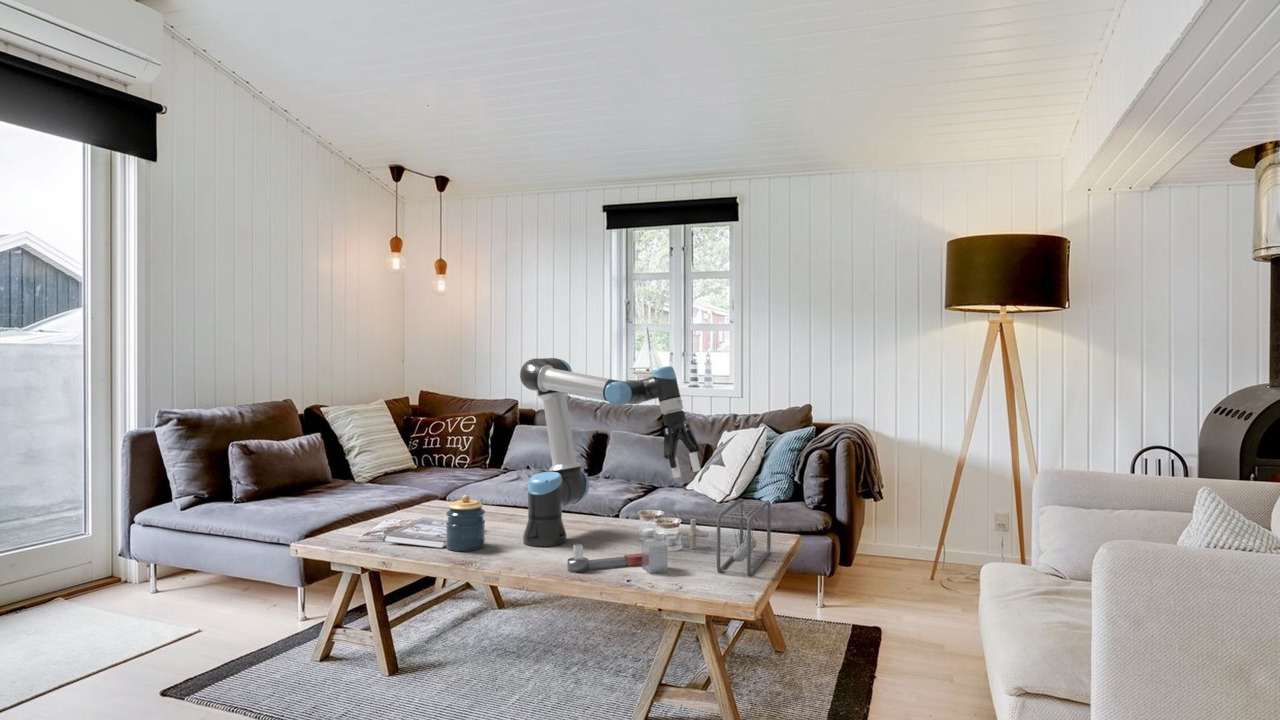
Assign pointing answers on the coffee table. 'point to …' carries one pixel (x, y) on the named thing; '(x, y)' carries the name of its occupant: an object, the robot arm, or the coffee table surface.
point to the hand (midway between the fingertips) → (687, 474)
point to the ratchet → (599, 561)
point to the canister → (465, 525)
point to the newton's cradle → (750, 542)
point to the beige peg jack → (693, 533)
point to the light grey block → (655, 556)
